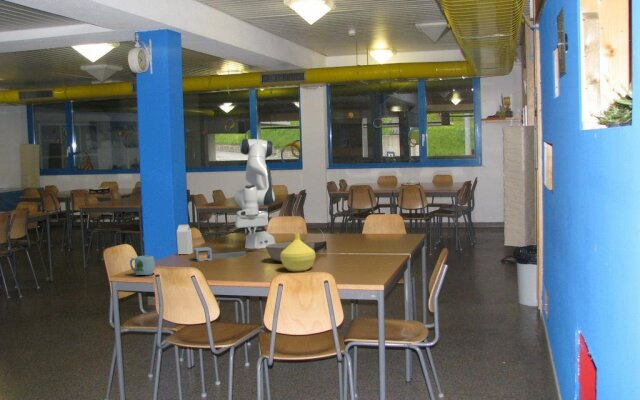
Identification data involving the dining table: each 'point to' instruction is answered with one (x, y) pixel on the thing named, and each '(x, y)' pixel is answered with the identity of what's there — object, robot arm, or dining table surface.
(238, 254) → the rod
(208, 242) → the dining table surface
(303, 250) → the vase
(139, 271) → the mug
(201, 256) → the block
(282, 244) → the bowl
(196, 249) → the pale blue storage bin
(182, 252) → the milk carton
